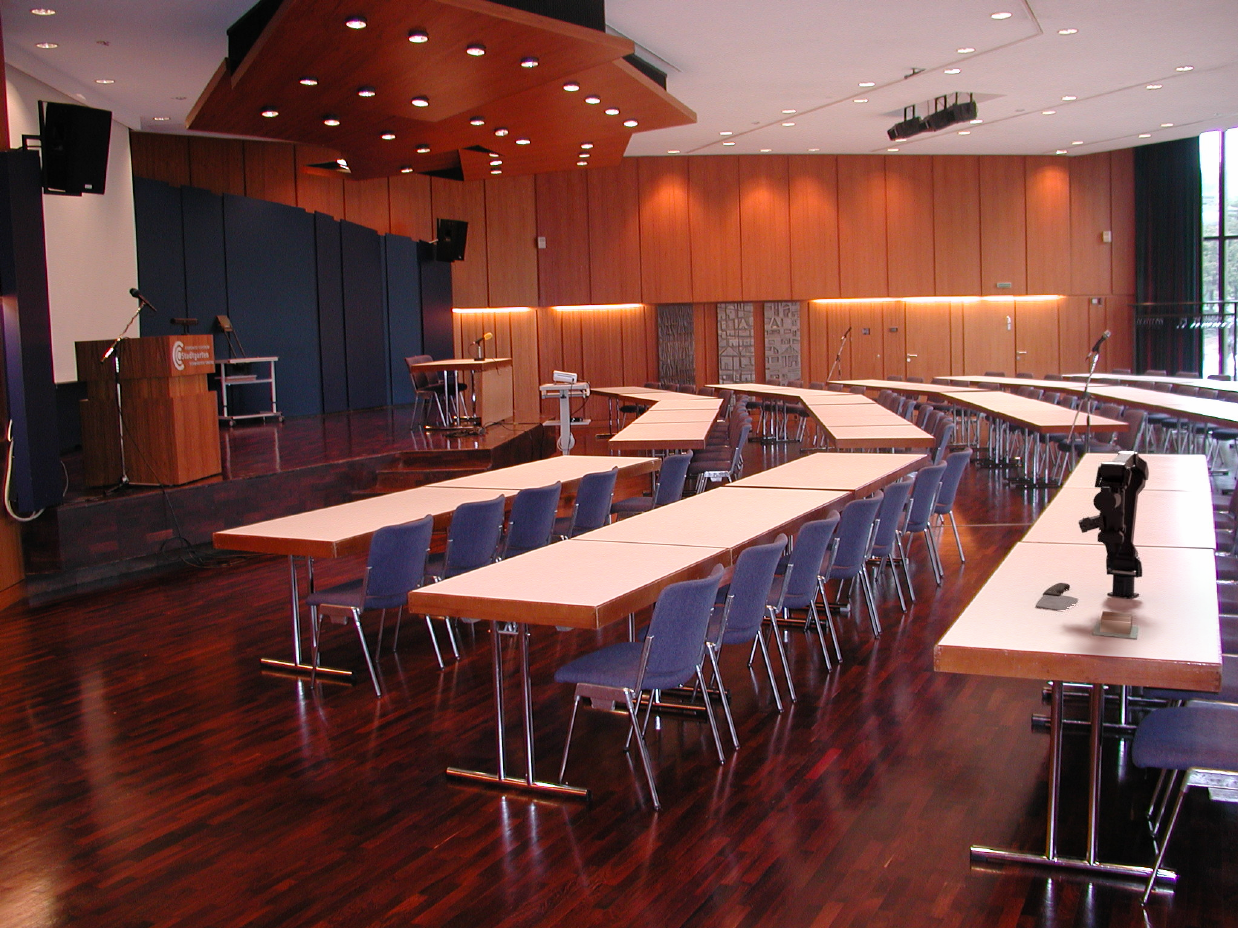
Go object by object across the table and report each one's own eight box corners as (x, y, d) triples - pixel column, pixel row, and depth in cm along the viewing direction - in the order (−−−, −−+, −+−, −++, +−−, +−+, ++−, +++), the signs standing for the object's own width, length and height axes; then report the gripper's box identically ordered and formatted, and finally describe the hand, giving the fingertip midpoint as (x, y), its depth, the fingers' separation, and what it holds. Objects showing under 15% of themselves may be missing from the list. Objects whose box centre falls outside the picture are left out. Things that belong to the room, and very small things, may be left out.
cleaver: (1050, 587, 318) (1051, 581, 317) (1085, 591, 313) (1085, 584, 312) (1033, 610, 293) (1033, 603, 292) (1070, 614, 288) (1071, 607, 287)
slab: (1102, 610, 276) (1100, 620, 267) (1132, 613, 272) (1130, 622, 264) (1102, 621, 276) (1100, 631, 267) (1131, 624, 273) (1130, 634, 264)
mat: (1096, 623, 276) (1096, 622, 276) (1138, 627, 271) (1138, 626, 271) (1092, 634, 265) (1092, 633, 265) (1136, 639, 261) (1136, 638, 260)
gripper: (1083, 501, 299) (1082, 554, 301) (1078, 510, 283) (1076, 567, 285) (1126, 503, 294) (1124, 557, 296) (1123, 513, 278) (1121, 570, 279)
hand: (1111, 562), depth 289 cm, fingers closed
